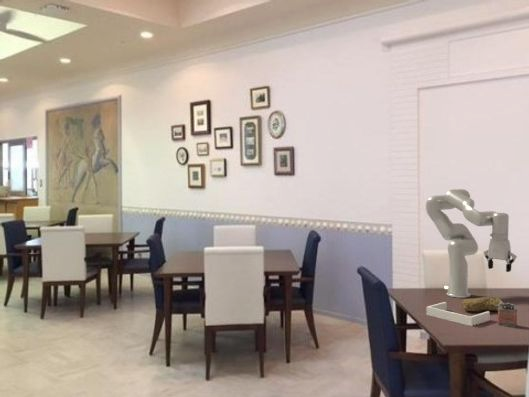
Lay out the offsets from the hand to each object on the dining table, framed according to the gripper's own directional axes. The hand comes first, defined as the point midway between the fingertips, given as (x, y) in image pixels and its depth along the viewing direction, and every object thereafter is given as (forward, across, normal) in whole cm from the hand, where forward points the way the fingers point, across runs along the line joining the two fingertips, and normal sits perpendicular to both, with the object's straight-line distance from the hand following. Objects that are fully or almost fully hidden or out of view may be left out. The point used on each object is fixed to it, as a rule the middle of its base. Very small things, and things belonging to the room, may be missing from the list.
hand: (499, 269), depth 262 cm
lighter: (+19, +21, -28) cm, 40 cm away
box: (+19, 0, -35) cm, 40 cm away
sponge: (+19, 0, -15) cm, 24 cm away
